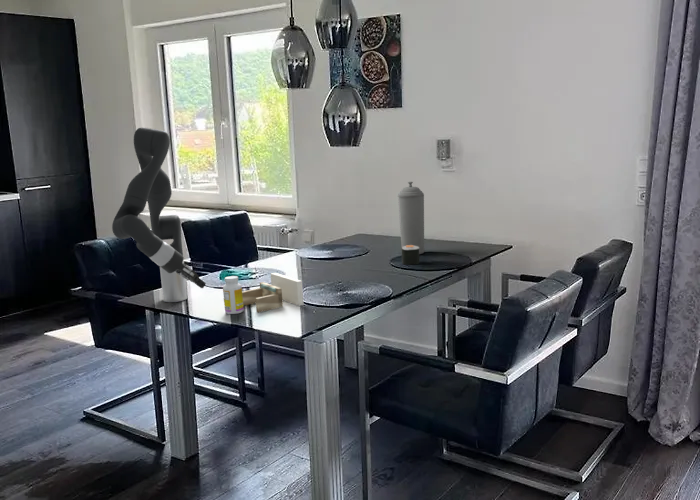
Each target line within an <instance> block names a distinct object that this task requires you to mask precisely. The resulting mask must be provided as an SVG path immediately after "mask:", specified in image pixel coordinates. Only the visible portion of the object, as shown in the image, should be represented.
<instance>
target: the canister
mask: <svg viewBox="0 0 700 500" xmlns="http://www.w3.org/2000/svg"><path fill="white" fill-rule="evenodd" d="M413 182H414V181H407V184H408V186H405V187H403V188H402V189H401V191H400V192H399V193H398V195H397V199H398V214H399V231H400V244H401V249H402V248H403V246H406V245H414V246H417V247H419V255H422V254H424V253H425V200H424V199H425V194H424V192H423V191H422V190H421V189H420V187H418V186H413V185H412V184H414V183H413Z"/></svg>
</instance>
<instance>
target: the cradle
mask: <svg viewBox="0 0 700 500" xmlns="http://www.w3.org/2000/svg"><path fill="white" fill-rule="evenodd" d="M242 296H243V306H247V305H253V304H255V307H256V308H255V311H256V313H262V312H267V311H272V310H276V309H279V308H283V307H284V305H283V300H282V288H279V287H276V286H273V285H271V283H267V282H264V281H262V282H259V287H256V288H253V289H248V290H244V291H243V290H242Z"/></svg>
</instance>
